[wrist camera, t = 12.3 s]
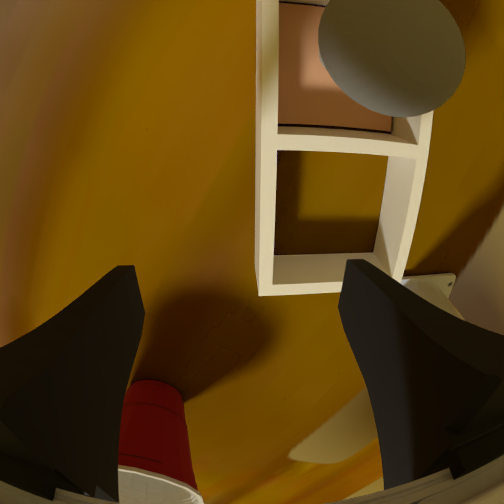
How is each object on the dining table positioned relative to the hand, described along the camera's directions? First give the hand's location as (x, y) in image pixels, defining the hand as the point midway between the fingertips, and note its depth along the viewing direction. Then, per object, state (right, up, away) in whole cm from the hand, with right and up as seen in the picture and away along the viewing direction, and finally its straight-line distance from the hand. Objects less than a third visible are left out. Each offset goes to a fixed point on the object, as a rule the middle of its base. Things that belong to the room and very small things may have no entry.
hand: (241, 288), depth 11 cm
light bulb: (+5, +13, +5) cm, 15 cm away
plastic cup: (-10, -13, +19) cm, 25 cm away
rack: (+5, +12, +5) cm, 14 cm away
